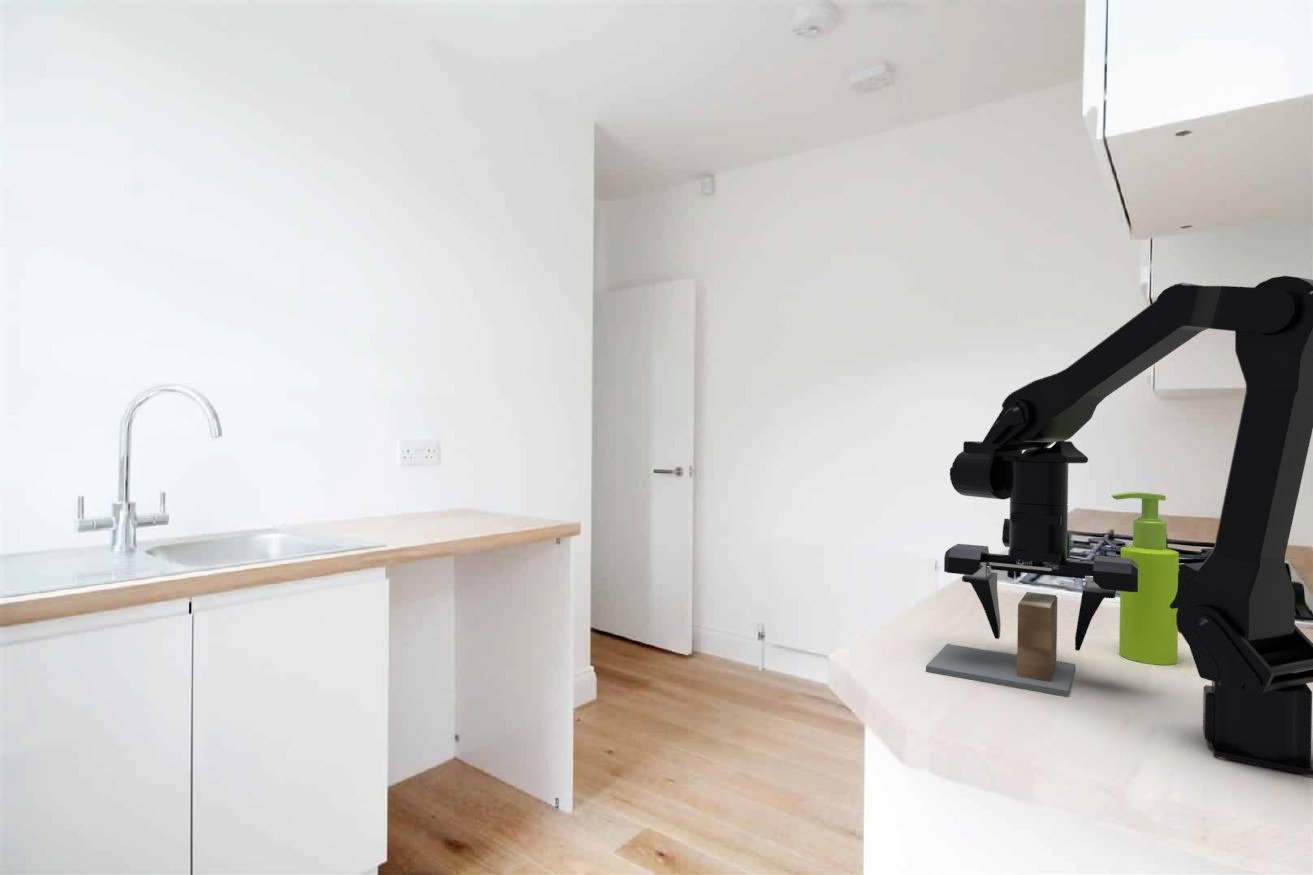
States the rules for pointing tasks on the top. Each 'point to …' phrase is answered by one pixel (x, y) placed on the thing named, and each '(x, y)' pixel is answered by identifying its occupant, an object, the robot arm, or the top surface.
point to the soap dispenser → (1150, 590)
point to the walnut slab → (1037, 636)
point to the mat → (997, 669)
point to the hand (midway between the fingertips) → (1036, 643)
